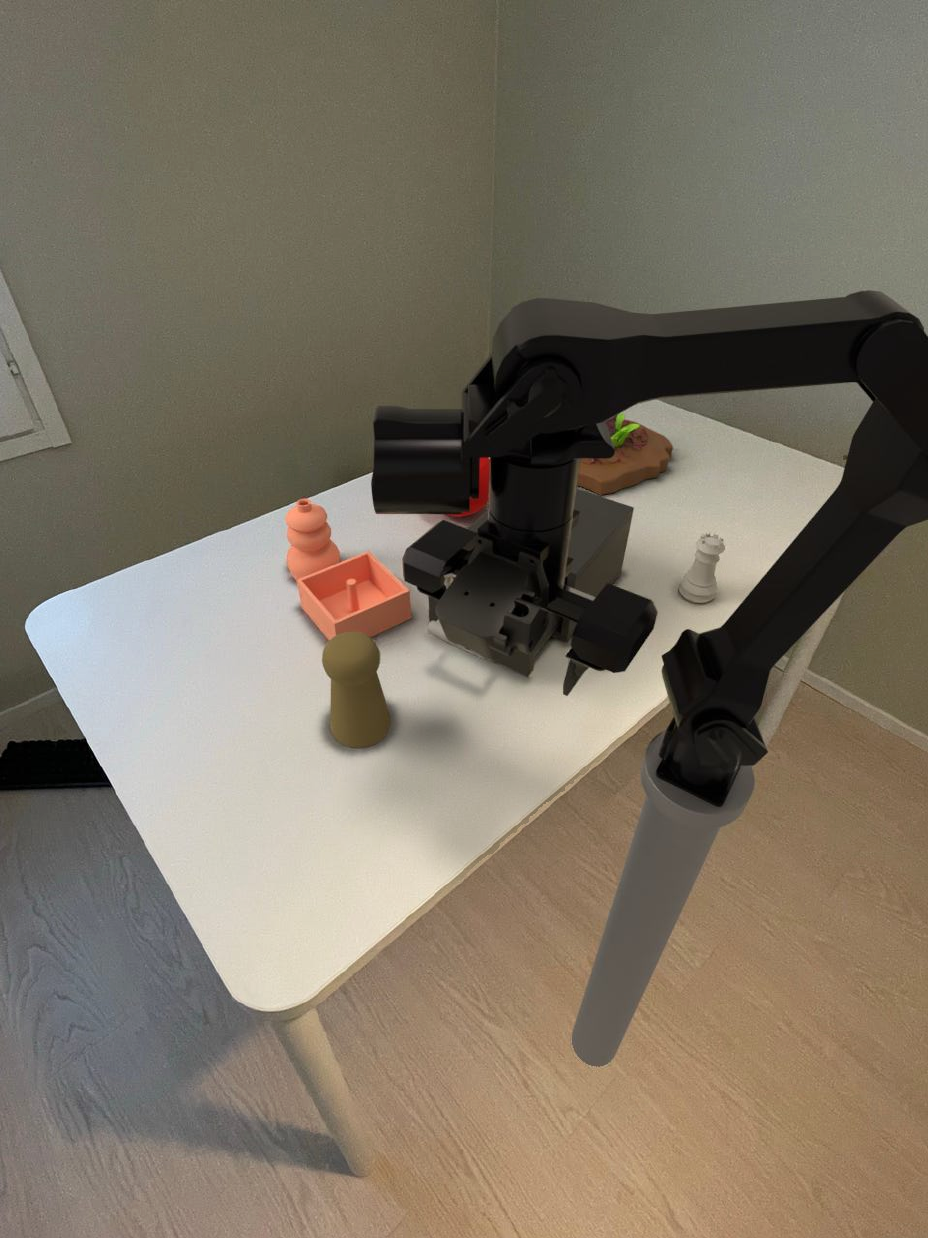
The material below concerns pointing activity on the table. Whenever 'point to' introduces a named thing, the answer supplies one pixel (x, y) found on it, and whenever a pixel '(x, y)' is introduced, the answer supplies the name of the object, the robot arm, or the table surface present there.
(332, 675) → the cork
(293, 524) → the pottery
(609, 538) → the dark grey drawer box
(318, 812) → the table surface
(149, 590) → the table surface
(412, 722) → the table surface
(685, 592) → the rook chess piece
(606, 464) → the plant
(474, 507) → the tomato
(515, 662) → the dark grey drawer
